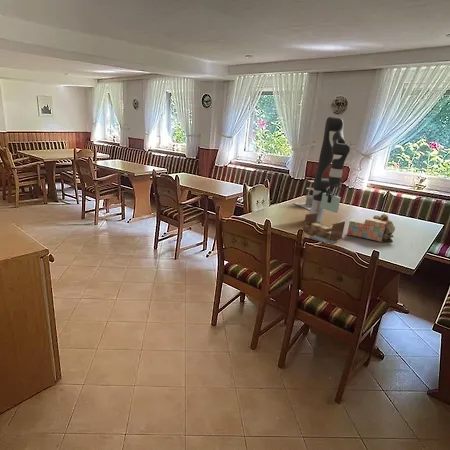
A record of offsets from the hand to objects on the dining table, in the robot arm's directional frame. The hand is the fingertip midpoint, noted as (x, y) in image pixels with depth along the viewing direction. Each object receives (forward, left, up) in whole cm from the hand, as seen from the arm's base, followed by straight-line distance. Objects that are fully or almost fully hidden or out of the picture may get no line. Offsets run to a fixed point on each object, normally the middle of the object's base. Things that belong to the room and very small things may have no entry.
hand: (330, 202), depth 213 cm
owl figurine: (+24, +26, -21) cm, 42 cm away
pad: (+8, -14, -21) cm, 26 cm away
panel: (0, 0, -5) cm, 5 cm away
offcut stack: (0, -4, -20) cm, 21 cm away
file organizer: (-52, +63, -22) cm, 84 cm away
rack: (0, -3, -21) cm, 21 cm away
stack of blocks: (+19, +17, -20) cm, 33 cm away
